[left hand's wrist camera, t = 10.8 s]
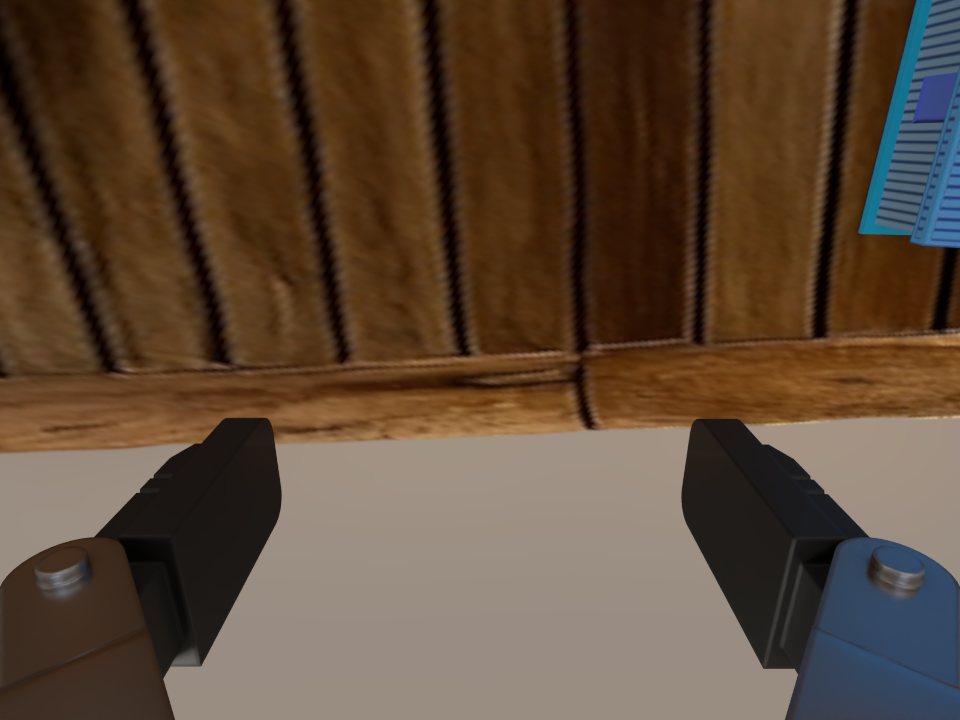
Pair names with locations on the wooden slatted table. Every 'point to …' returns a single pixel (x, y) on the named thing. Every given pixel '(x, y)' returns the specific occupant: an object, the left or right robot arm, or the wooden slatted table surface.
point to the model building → (922, 136)
